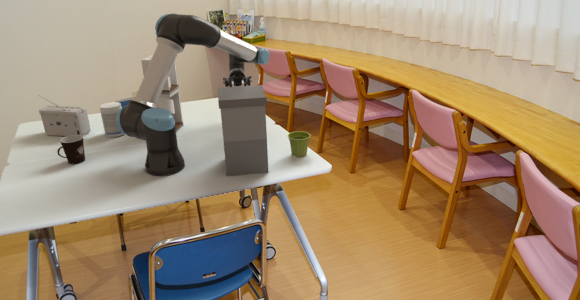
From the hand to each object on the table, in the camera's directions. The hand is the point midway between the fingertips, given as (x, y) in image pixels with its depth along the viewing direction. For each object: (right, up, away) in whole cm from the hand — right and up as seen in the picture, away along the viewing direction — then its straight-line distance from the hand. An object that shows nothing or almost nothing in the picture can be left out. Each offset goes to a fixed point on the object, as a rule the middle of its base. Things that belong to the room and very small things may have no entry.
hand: (238, 86), depth 192 cm
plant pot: (+26, -29, -4) cm, 39 cm away
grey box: (+5, -33, -13) cm, 36 cm away
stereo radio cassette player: (-85, -20, +26) cm, 91 cm away
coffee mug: (-68, -32, -5) cm, 75 cm away
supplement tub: (-61, -20, +24) cm, 69 cm away
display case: (-37, -17, +28) cm, 50 cm away
